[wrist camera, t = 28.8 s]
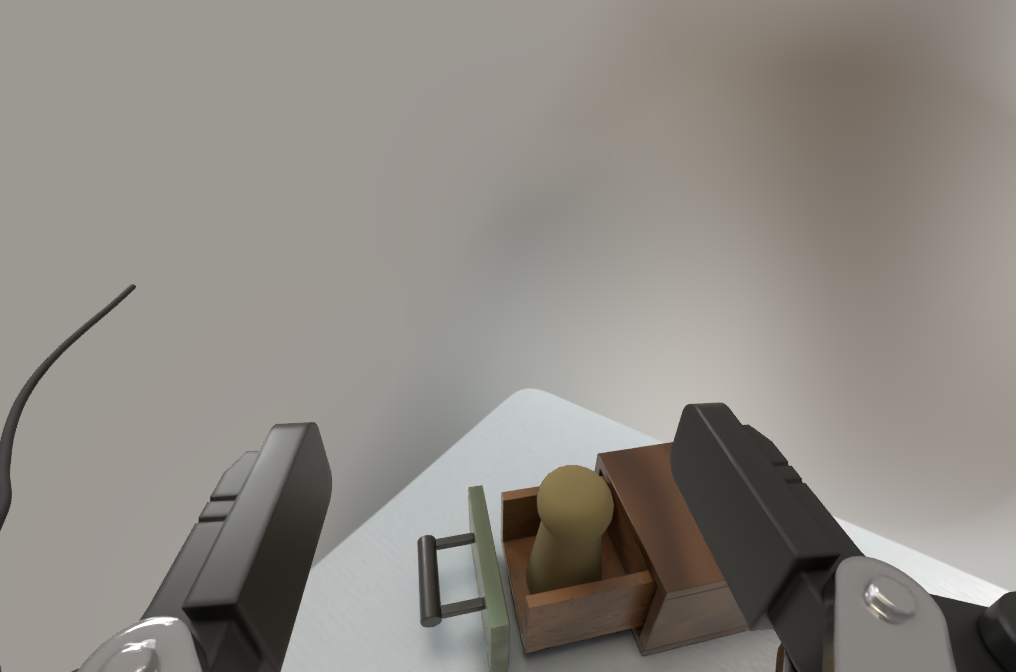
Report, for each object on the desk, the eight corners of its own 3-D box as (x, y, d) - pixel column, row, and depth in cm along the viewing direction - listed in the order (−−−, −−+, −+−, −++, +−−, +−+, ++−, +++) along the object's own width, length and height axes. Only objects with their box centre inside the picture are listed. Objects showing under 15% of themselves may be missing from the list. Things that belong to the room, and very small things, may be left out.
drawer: (427, 692, 30) (418, 644, 26) (421, 547, 38) (413, 496, 35) (658, 637, 33) (678, 587, 29) (603, 514, 42) (614, 464, 38)
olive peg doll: (512, 560, 36) (515, 469, 30) (573, 530, 39) (587, 441, 33) (551, 632, 32) (564, 542, 26) (617, 594, 34) (643, 503, 28)
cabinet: (642, 656, 33) (666, 593, 28) (585, 517, 42) (597, 453, 38) (802, 616, 35) (850, 552, 30) (714, 494, 45) (740, 431, 40)
